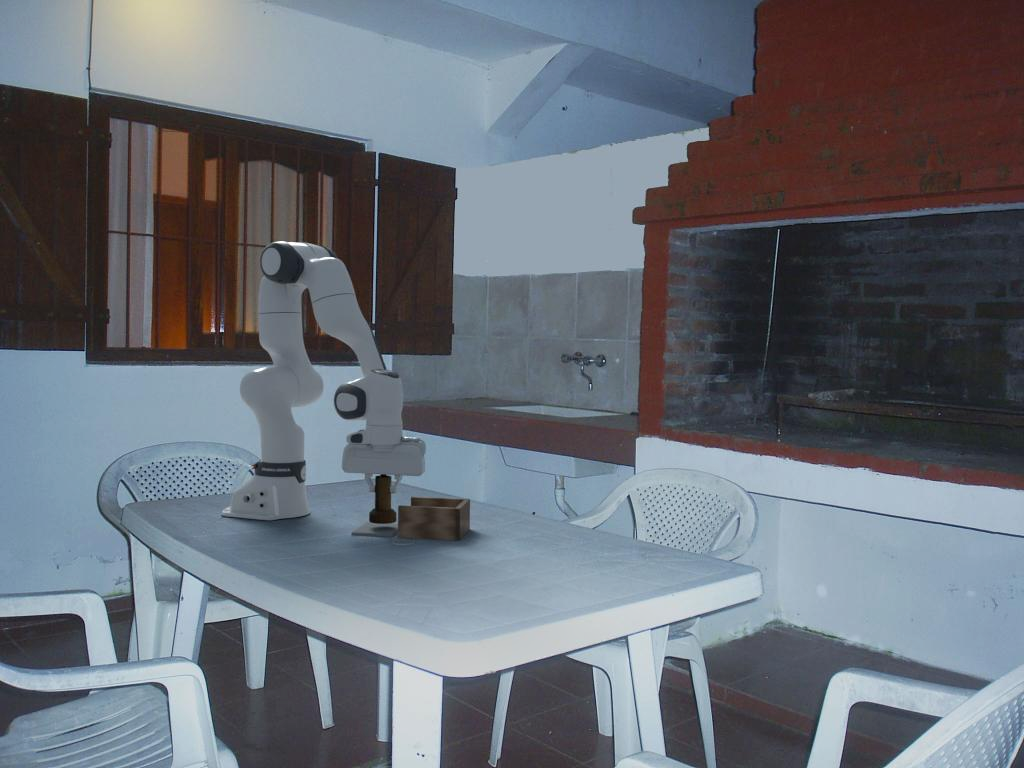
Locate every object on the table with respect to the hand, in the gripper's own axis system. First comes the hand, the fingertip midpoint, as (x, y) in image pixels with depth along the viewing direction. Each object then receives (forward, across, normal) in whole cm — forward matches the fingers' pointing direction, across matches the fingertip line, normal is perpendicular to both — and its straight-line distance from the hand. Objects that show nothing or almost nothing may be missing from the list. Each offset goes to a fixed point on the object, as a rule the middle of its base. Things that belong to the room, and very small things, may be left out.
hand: (383, 492), depth 216 cm
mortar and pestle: (+7, 0, 0) cm, 7 cm away
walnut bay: (+9, -13, 0) cm, 16 cm away
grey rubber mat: (+9, +1, 0) cm, 9 cm away
